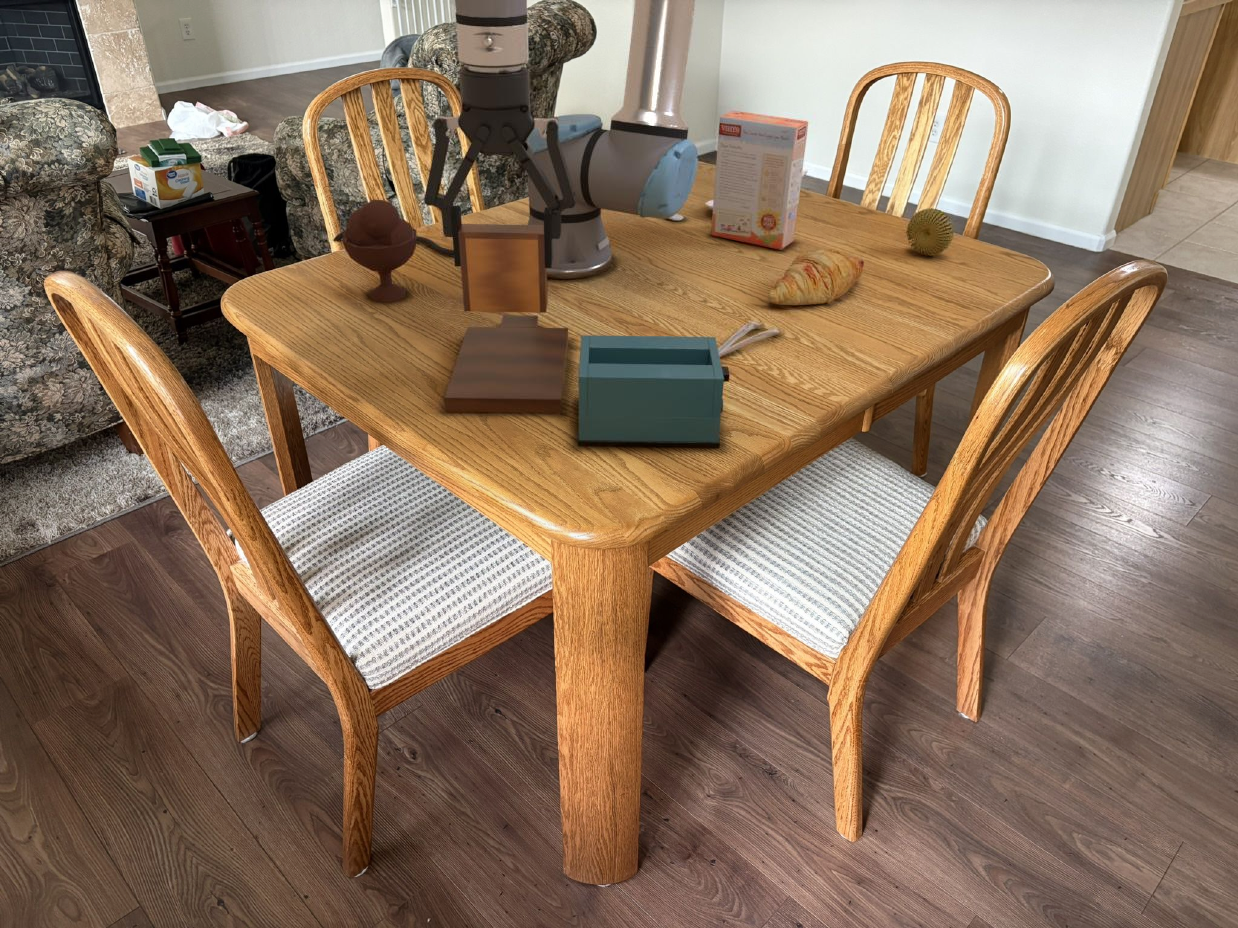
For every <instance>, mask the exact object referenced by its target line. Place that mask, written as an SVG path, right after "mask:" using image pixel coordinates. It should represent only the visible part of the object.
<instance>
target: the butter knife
mask: <svg viewBox="0 0 1238 928" xmlns="http://www.w3.org/2000/svg"><path fill="white" fill-rule="evenodd" d="M666 220H671V221H674V222H679V221H682V220H684V216H683V215H682V214H678V213H676V214H675V215H674V216H672V217H670V218H666Z"/></svg>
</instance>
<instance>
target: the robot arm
mask: <svg viewBox="0 0 1238 928" xmlns="http://www.w3.org/2000/svg"><path fill="white" fill-rule="evenodd" d="M696 3H697V0H634V8H633V9H634V10H633V19H632V25H631V35H630V43H629V51H628V52H629V53H628V61H627V69H626V77H625V88H624V95H623V103H622V107H621V108H620V109H619V110H618V111H617V112H616V113H615V114H613V115H612V116H611V119H610V128H609V129H604V128H603V126H604V123H603V121H602V118H601V116H599V115H596V114H593V113H576V114H575V113H574V114H563V115H558V116H550V117H547V118H541V117H535V116H534V114H533V111H532V109H531V92H530V90H531V89H530V87H531V86H530V84H531V83H530V70H529V69H528V68H527V67H526V66H524V65H526V64H527V63H528V62H529V60H530V56H529V22H528V0H454V4H455V29H456V43H457V45H456V46H457V58H458V59H457V60H458V62H460V63H461V64H463V66H462V67H461V68H460V70H459V72H458V75H459V87H460V103H461V110H460V114H459V115H457V116H447V115H446V114H443V113H441V114H439V115H438V116H437V117H436V118H435V120H434V121H433V129H434V136H435V144H434V149H433V154H432V158H431V164H430V168H429V174H428V179H427V184H426V188H425V194H424V199H423V201H424V204H425V205H426V206H427V207H428V206H429V207H431V206H432V207H436V208H437V209H439V211H440V213H441V223H442V233H443V235H444V237H445V238H452V245H453V246H452V247H453V249H451V248H450V249H449V248H445V247H443V246H440V245H439V244H438V243H436V242H435V241H433V240H431V239H430V238H427V237H425V236H424V237H423V236H420V235H417V239H416V243H422V244H425V245H427V246H429V247H431V248H432V249H433V250H435V251H436V252H438V253H440V254H443V255H447V256H453V259H454V267H461V263H460V250H459V238H458V232H459V229H460V227H461V225H462V224H463V221H462V212H461V211H462V209H461V205H454V202H455V201H456V199H457V197H458V195H459V193H460V191H461V189H462V187H463V185H464V183H465V181H466V179H467V177H468V176H469V173H470V172H471V169H472V168H473V165H474V164H475V162H476V160H477V158H478V157H479V154H481V155H483V157H493V156H497V155H498V156H502V157H512V156H514V155H515V157H516V159H517V161H518V162H519V164H520V165H522V167H523V169H524V170H525V172H526V174H527V190H528V209H529V210H528V211H529V214H528V215H529V216H528V222H527V225H544V242H545V268H547V279H558V280H575V279H584V278H589V277H593V276H596V275H598V274H601V273H604V272H605V271H607V270H608V269H609V268H610V267H611V266H612V260H613V259H612V258H613V252H612V247H611V245H610V239H609V237H608V236H607V232H606V229H605V226H604V223H603V220H602V210H607V211H613V212H617V213H623V214H630V215H634V216H639V217H640V218H641V219H645V218H652V219H660V220H667V218H670V217H672V216H674V215H675V214H678V212H680V211H681V209H682V208H683V206H684V205H685V204H686V202H687V200H688V199H689V196H690V195H691V191H692V189H693V186H694V183H695V180H696V176H697V174H698V173H697V172H698V167H699V166H698V165H699V158H698V155H699V153H698V148H697V146H696V144H695V143H693V142H692V141H691V140H690V139H688V137H689V136H688V135H689V126H688V124H687V122H685V120H684V119H683V117H682V113H681V111H682V104H683V97H684V90H685V83H686V75H687V69H688V62H689V56H690V55H689V53H690V47H691V39H692V32H693V26H694V19H695V18H694V17H695V11H696V5H697V4H696ZM456 129H460V130H461V132H462V133H463V134H464V135H465V137H466V138H467V139H468V141H469V142H470V145H469V147H468V149H467V151H466V153H465V155H464V157H463V159H462V161H461V163H460V165H459V166H458V168H457V171H456V173H455V175H454V177H453V178H452V181H451V182H450V185H449V187H448V189H447V190H446V193H445V194H443V193H440V188H441V183H442V179H443V175H444V174H443V173H444V170H445V165H446V160H447V155H448V151H449V145H450V139H452V138H453V137H454V136H455V134H456ZM345 232H346V230H344V231H341V232H339V233H337V235H336V236H334V237H333V240H332V241H333V242H339V241H342V240H343V234H344V233H345Z"/></svg>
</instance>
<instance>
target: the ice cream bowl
mask: <svg viewBox="0 0 1238 928" xmlns="http://www.w3.org/2000/svg"><path fill="white" fill-rule="evenodd" d="M345 231H346V232H345V233H344V234H343V238H342V239H341V241H342V244H343V247H344V250H345V252H346V253H347V255H348V256H349V258H350V259H351V260H353V261H354V262H355V263H357V264H358V265H359V266H362V267H364V268H366V269H367V270H370V271H372V272H375V273H377V274H378V275H379V281H380V284H378V285H377V286H376V287H374V288H373V289H371V290H370V296H369V299H370V300H373V301H375V302H376V303H378V302H379V303H390V302H396V301H397V302H398V301H400V300H402V299H403V298H405V297H406V294H407V293H406V290H405V288H403V287H402V286H399V285H397V284H395V283H393V279H392V272H393V271H395V270H397V269H399V268H400V267H402V266H404V265H405V264H406V263H407V262H409V260H410V259H411V258H412V257H413V256H414V253H415V251H416V247H417V241H416V239H417V236H418V235H417V229H416V228H414V227H412V224H411V223H410V222H409V221H407V220H405V219H404V218H400V213H399V211H398V209H397V208H396V206H395V205H394V204H392V203H391V202H390V201H387V200H384V199H371V200H370V201H368V202H367V203H365V204H364V205H362V207H360V208H358V209H355V210H353V212H352V213H351V214H350V215H349V217H348V219H347V222H346V226H345Z"/></svg>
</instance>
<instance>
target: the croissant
mask: <svg viewBox="0 0 1238 928" xmlns="http://www.w3.org/2000/svg"><path fill="white" fill-rule="evenodd" d="M864 265H865V262H864V260H863V259H860V258H857V257H850V256H845V254H844V255H843V254H842V253H841V252H840V251H836V250H830V249H814V250H809V251H805V252H803V253H800V254H799V255H798V256H796V257H795V258H794V260H793V261H792V262H791V264H790V265H789V266H788V268H787V269H786V270H785V272H784V274H783V275H784V276H783V277H781V278H779V279H778V280H777V281H776V283H775V286H774V287H773V288H771V289H769V293H768V295H767V296H768V297H767V300H769V302H770V303H772V304H774V305H779V306H808V305H810V306H811V305H812V306H813V305H820V304H821V305H822V304H826V303H827V304H830V303H832V302H833V301H834V300H837V299H839V298H841V297H843V296H844V295H846V293H848V292H849V290H850V289H851V287H852V286H853V285H854V284H855V282H856V281H857V280H858V279H859V278H860V277H861V275H862V274H863V267H864Z"/></svg>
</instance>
